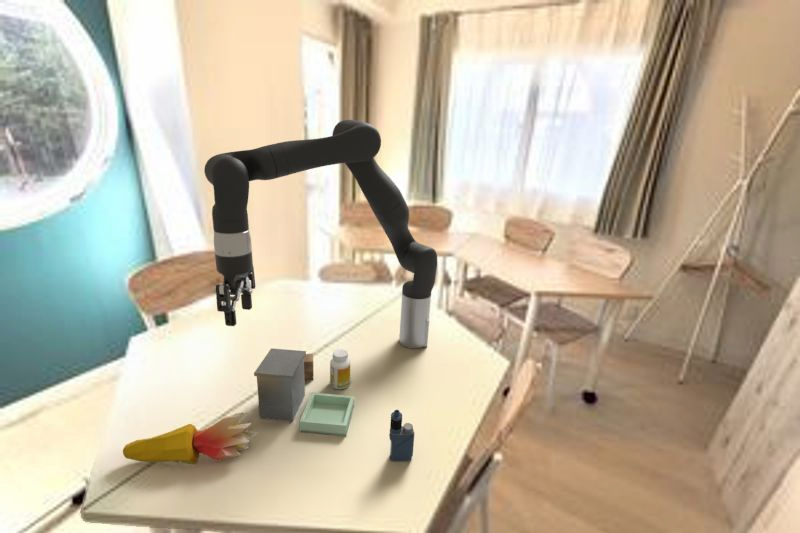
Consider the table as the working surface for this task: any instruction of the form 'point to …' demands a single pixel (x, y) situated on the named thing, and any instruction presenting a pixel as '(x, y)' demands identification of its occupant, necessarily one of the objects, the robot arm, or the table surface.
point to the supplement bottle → (340, 369)
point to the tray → (327, 414)
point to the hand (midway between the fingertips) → (239, 316)
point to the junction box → (281, 384)
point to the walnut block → (308, 367)
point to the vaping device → (400, 438)
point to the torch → (193, 443)
